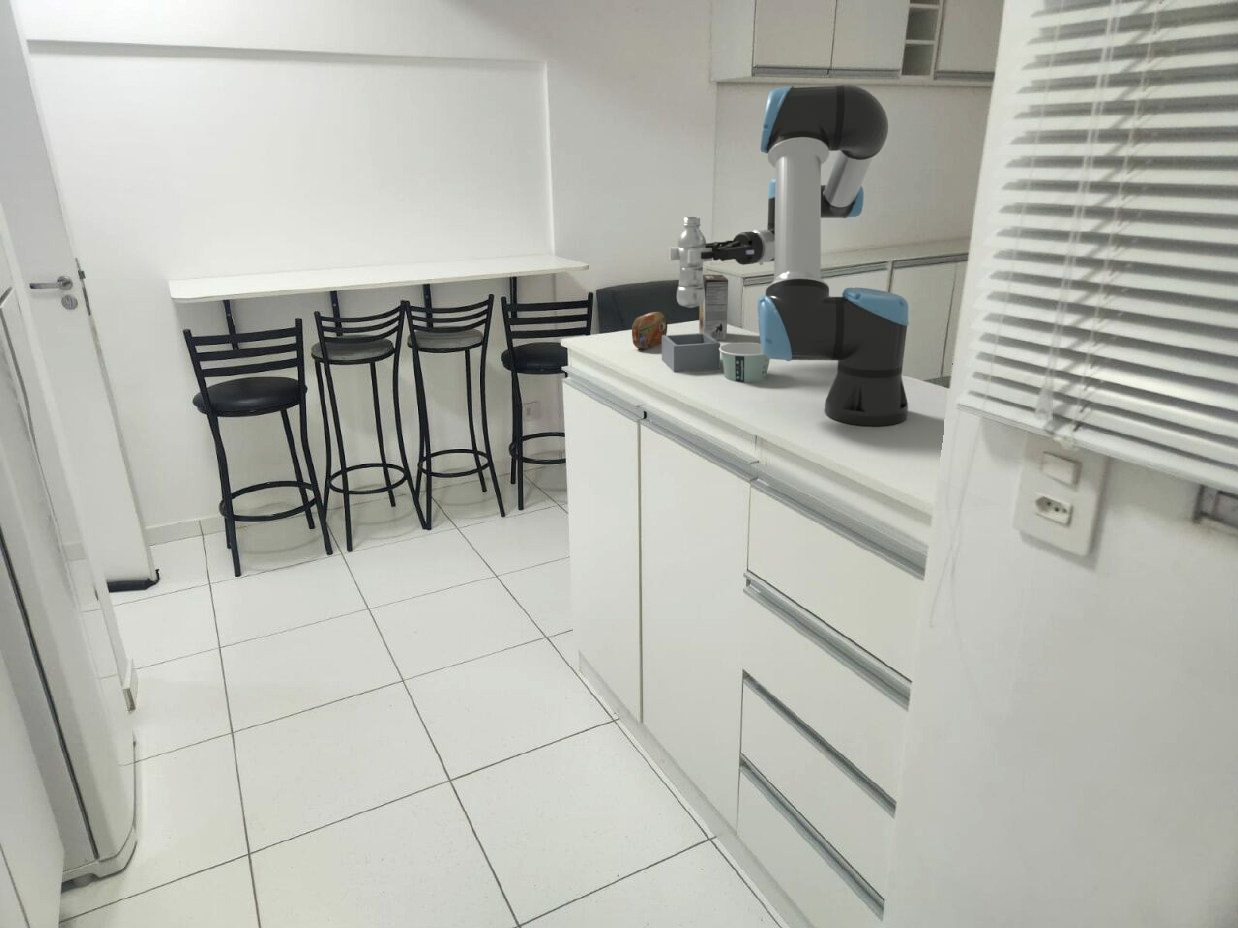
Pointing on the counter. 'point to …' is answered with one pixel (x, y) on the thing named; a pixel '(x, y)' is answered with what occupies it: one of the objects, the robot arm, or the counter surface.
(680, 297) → the plastic bottle
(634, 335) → the tin
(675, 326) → the counter surface
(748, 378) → the food container
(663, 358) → the bottle holder
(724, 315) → the coffee box
